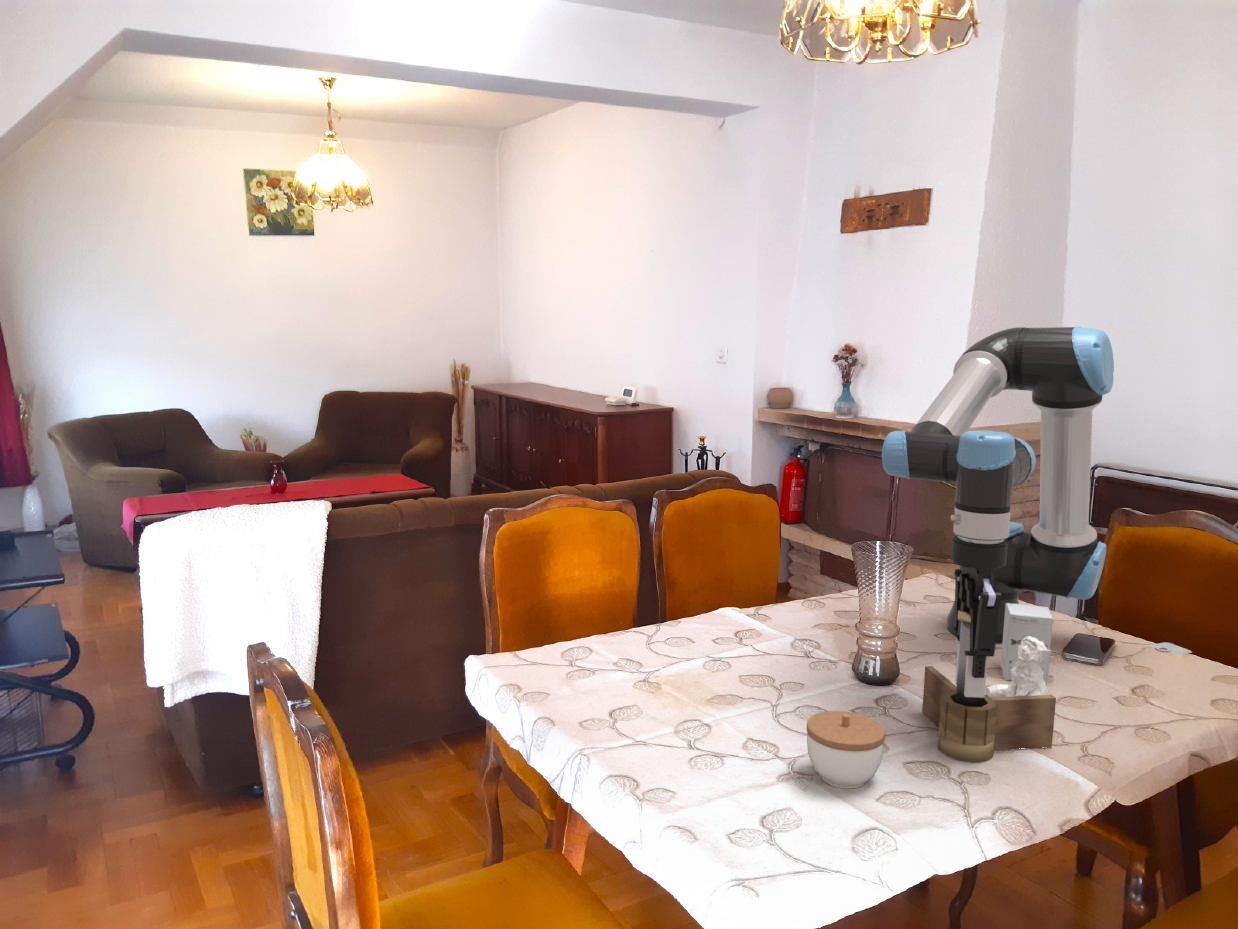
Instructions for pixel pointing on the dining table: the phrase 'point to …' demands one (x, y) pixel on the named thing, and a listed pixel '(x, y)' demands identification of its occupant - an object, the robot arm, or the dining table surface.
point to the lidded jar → (845, 747)
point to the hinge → (986, 721)
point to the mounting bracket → (1169, 648)
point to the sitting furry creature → (1025, 672)
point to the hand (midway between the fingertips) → (969, 690)
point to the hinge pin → (964, 661)
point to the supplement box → (1024, 634)
